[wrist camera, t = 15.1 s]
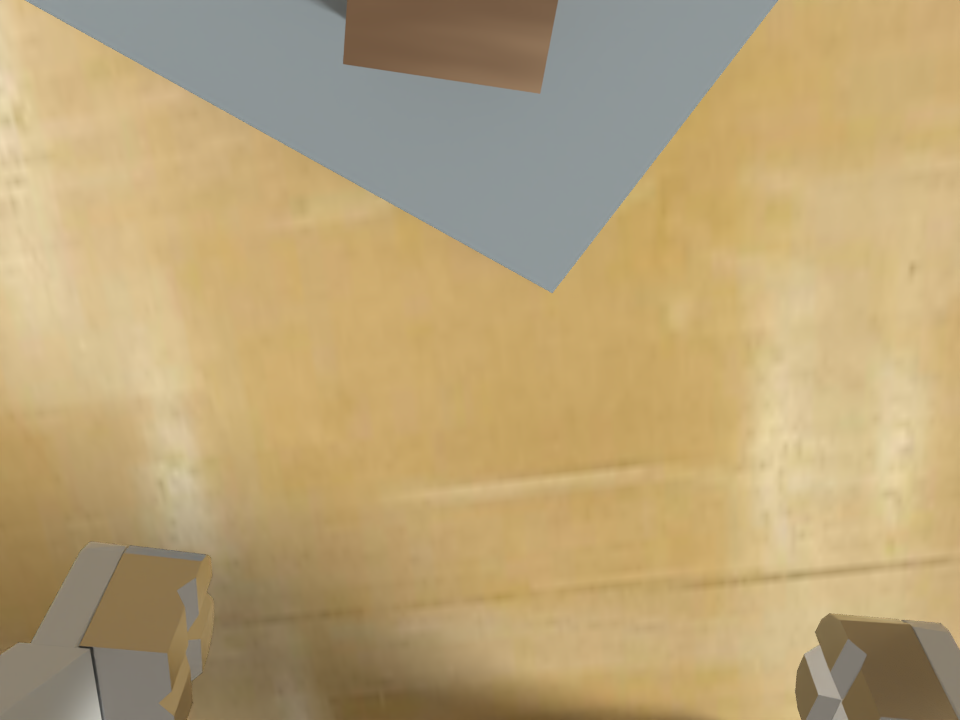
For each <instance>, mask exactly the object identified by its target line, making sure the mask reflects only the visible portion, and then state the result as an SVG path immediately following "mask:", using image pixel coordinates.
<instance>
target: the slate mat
mask: <svg viewBox="0 0 960 720" xmlns="http://www.w3.org/2000/svg"><path fill="white" fill-rule="evenodd" d="M26 1H27V2H29V3H31V4H33V5H35V6H36V7H38V8H40V9H42V10H44V11H45V12H47V13H49V14H51V15H53V16H54V17H56V18H58V19H60V20H62V21H63V22H65V23H67V24H69V25H71V26H72V27H74V28H76V29H78V30H80V31H81V32H83V33H85V34H87V35H89V36H90V37H92V38H94V39H96V40H98V41H99V42H101V43H103V44H105V45H107V46H108V47H110V48H112V49H114V50H116V51H117V52H119V53H121V54H123V55H125V56H126V57H128V58H130V59H132V60H134V61H135V62H137V63H139V64H141V65H143V66H144V67H146V68H148V69H150V70H152V71H153V72H155V73H157V74H159V75H161V76H162V77H164V78H166V79H168V80H170V81H171V82H173V83H175V84H177V85H179V86H180V87H182V88H184V89H186V90H188V91H189V92H191V93H193V94H195V95H197V96H198V97H200V98H202V99H204V100H206V101H207V102H209V103H211V104H213V105H215V106H216V107H218V108H220V109H222V110H224V111H225V112H227V113H229V114H231V115H233V116H234V117H236V118H238V119H240V120H242V121H243V122H245V123H247V124H249V125H251V126H252V127H254V128H256V129H258V130H260V131H261V132H263V133H265V134H267V135H269V136H270V137H272V138H274V139H276V140H278V141H279V142H281V143H283V144H285V145H287V146H288V147H290V148H292V149H294V150H296V151H297V152H299V153H301V154H303V155H305V156H306V157H308V158H310V159H312V160H314V161H315V162H317V163H319V164H321V165H323V166H324V167H326V168H328V169H330V170H332V171H333V172H335V173H337V174H339V175H341V176H342V177H344V178H346V179H348V180H350V181H351V182H353V183H355V184H357V185H359V186H360V187H362V188H364V189H366V190H368V191H369V192H371V193H373V194H375V195H377V196H378V197H380V198H382V199H384V200H386V201H387V202H389V203H391V204H393V205H395V206H396V207H398V208H400V209H402V210H404V211H405V212H407V213H409V214H411V215H413V216H414V217H416V218H418V219H420V220H422V221H423V222H425V223H427V224H429V225H431V226H432V227H434V228H436V229H438V230H440V231H441V232H443V233H445V234H447V235H449V236H450V237H452V238H454V239H456V240H458V241H459V242H461V243H463V244H465V245H467V246H468V247H470V248H472V249H474V250H476V251H477V252H479V253H481V254H483V255H485V256H486V257H488V258H490V259H492V260H494V261H495V262H497V263H499V264H501V265H503V266H504V267H506V268H508V269H510V270H512V271H513V272H515V273H517V274H519V275H521V276H522V277H524V278H526V279H528V280H530V281H531V282H533V283H535V284H537V285H539V286H540V287H542V288H544V289H546V290H548V291H549V292H551V293H553V292H554V290H555V289H556V288H557V286H558V285H559V284H560V283H561V281H562V280H563V279H564V277H565V276H566V275H567V273H568V272H569V271H570V270H571V268H572V267H573V266H574V264H575V263H576V262H577V260H578V259H579V258H580V257H581V255H582V254H583V253H584V251H585V250H586V249H587V248H588V246H589V245H590V244H591V242H592V241H593V240H594V238H595V237H596V236H597V235H598V233H599V232H600V231H601V229H602V228H603V227H604V225H605V224H606V223H607V222H608V220H609V219H610V218H611V216H612V215H613V214H614V212H615V211H616V210H617V209H618V207H619V206H620V205H621V203H622V202H623V201H624V200H625V198H626V197H627V196H628V194H629V193H630V192H631V190H632V189H633V188H634V187H635V185H636V184H637V183H638V181H639V180H640V179H641V177H642V176H643V175H644V174H645V172H646V171H647V170H648V168H649V167H650V166H651V165H652V163H653V162H654V161H655V159H656V158H657V157H658V155H659V154H660V153H661V152H662V150H663V149H664V148H665V146H666V145H667V144H668V142H669V141H670V140H671V139H672V137H673V136H674V135H675V133H676V132H677V131H678V129H679V128H680V127H681V126H682V124H683V123H684V122H685V120H686V119H687V118H688V117H689V115H690V114H691V113H692V111H693V110H694V109H695V107H696V106H697V105H698V104H699V102H700V101H701V100H702V98H703V97H704V96H705V94H706V93H707V92H708V91H709V89H710V88H711V87H712V85H713V84H714V83H715V81H716V80H717V79H718V78H719V76H720V75H721V74H722V72H723V71H724V70H725V69H726V67H727V66H728V65H729V63H730V62H731V61H732V59H733V58H734V57H735V56H736V54H737V53H738V52H739V50H740V49H741V48H742V46H743V45H744V44H745V43H746V41H747V40H748V39H749V37H750V36H751V35H752V34H753V32H754V31H755V30H756V28H757V27H758V26H759V24H760V23H761V22H762V21H763V19H764V18H765V17H766V15H767V14H768V13H769V11H770V10H771V9H772V8H773V6H774V5H775V4H776V2H777V1H778V0H558V4H557V9H556V14H555V20H554V25H553V30H552V35H551V41H550V46H549V51H548V56H547V61H546V67H545V72H544V77H543V82H542V88H541V93H540V94H538V93H532V92H525V91H518V90H512V89H505V88H498V87H492V86H485V85H478V84H472V83H465V82H458V81H452V80H445V79H438V78H432V77H425V76H418V75H412V74H405V73H398V72H392V71H385V70H378V69H372V68H365V67H358V66H352V65H345V64H343V55H344V39H345V24H346V9H347V0H26Z"/></svg>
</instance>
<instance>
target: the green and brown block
mask: <svg viewBox="0 0 960 720" xmlns="http://www.w3.org/2000/svg"><path fill="white" fill-rule="evenodd" d="M557 4H558V0H347V9H346V24H345V39H344V55H343V64H345V65H352V66H358V67H365V68H372V69H378V70H385V71H392V72H398V73H405V74H412V75H418V76H425V77H432V78H438V79H445V80H452V81H458V82H465V83H472V84H478V85H485V86H492V87H498V88H505V89H512V90H518V91H525V92H532V93H538V94H540V93H541V88H542V82H543V77H544V72H545V67H546V61H547V56H548V51H549V46H550V41H551V35H552V30H553V25H554V20H555V14H556V9H557Z"/></svg>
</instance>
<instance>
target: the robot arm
mask: <svg viewBox="0 0 960 720" xmlns="http://www.w3.org/2000/svg"><path fill="white" fill-rule="evenodd" d="M211 578H212V566H211V557H210V556H208V555H206V554H197V553H189V552H181V551H173V550H164V549H156V548H148V547H139V546H131V545H130V546H126V545H117V544H109V543H101V542H92V541H90V542H89V543H88V544H87V545H86V546H85V547H84V548H83V549H82V550H81V551H80V552H79V554H78V556H77V558H76V560H75V562H74V563H73V565H72V567H71V569H70V571H69V573H68V575H67V577H66V578H65V580H64V582H63V584H62V586H61V588H60V590H59V591H58V593H57V595H56V597H55V599H54V601H53V603H52V604H51V606H50V608H49V610H48V612H47V614H46V616H45V617H44V619H43V621H42V623H41V625H40V627H39V629H38V630H37V632H36V634H35V636H34V638H33V640H32V642H31V643H19V642H18V643H17V644H15V645H14V646H12V647H11V648H9V649H8V650H6V651H5V652H3V653H2V654H0V720H187V718H188V715H189V712H190V709H191V706H192V703H193V701H192V686H191V681H192V680H194V679H195V678H196V677H197V676H199V675H200V674H201V673H202V672H203V669H204V666H205V662H206V659H207V656H208V653H209V648H210V642H211V637H212V632H213V622H214V599H213V598H212V597H211V596H210V595H209V594H208V593H207V589H208V587H209V584H210V581H211ZM815 633H816V636H817V639H818V641H819V644H820V645H818V646H817V647H815V648H813V649H812V650H810V651H809V652H807V653H805V654H804V656H803V658H802V660H801V663H800V665H799V667H798V670H797V676H796V688H795V694H796V701H797V708H798V711H799V714H800V717H801V720H960V650H959V648H958V646H957V644H956V642H955V641H954V639H953V637H952V635H951V633H950V632H949V630H948V629H947V628H945V627H944V626H943V625H942V624H941V623H933V622H922V621H911V620H898V619H890V618H879V617H867V616H855V615H843V614H831V613H829V614H828V615H827V616H825V617H824V618H823V619H821V621H820V623H819V625H818V627H817V629H816V631H815Z"/></svg>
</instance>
